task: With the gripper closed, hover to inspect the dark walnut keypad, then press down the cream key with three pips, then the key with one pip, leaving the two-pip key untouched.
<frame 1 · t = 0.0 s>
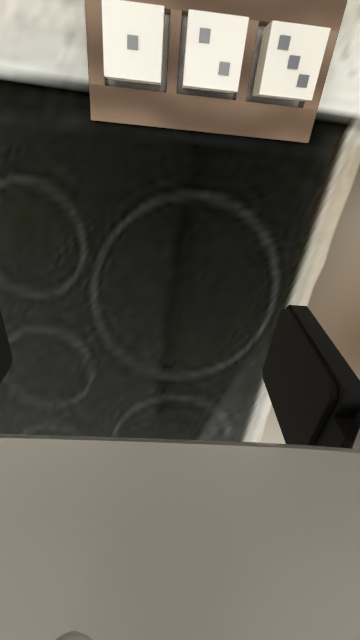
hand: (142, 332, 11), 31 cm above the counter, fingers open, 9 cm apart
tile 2: (212, 55, 28), point 3 cm above the counter, slide at 0.0 cm
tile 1: (134, 45, 28), point 3 cm above the counter, slide at 0.0 cm
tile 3: (288, 64, 29), point 3 cm above the counter, slide at 0.0 cm
keypad board: (208, 60, 31), on the counter
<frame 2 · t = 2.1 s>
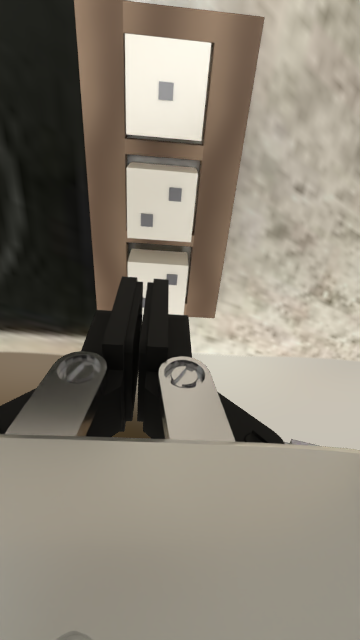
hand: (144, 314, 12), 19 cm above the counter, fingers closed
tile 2: (161, 202, 25), point 3 cm above the counter, slide at 0.0 cm
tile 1: (166, 92, 21), point 3 cm above the counter, slide at 0.0 cm
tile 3: (157, 283, 28), point 3 cm above the counter, slide at 0.0 cm
keypad board: (162, 193, 27), on the counter
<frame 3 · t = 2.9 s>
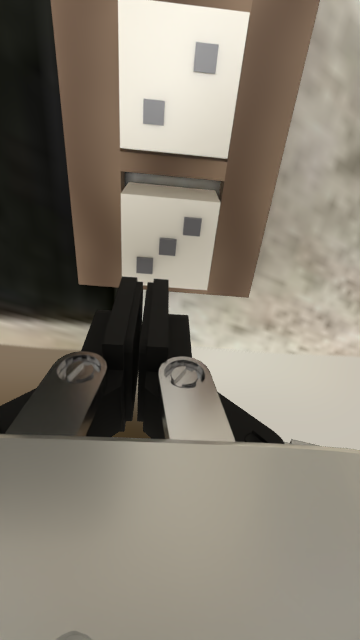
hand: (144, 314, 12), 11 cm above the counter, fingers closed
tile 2: (178, 88, 14), point 3 cm above the counter, slide at 0.0 cm
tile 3: (168, 237, 18), point 3 cm above the counter, slide at 0.0 cm
keypad board: (179, 92, 17), on the counter
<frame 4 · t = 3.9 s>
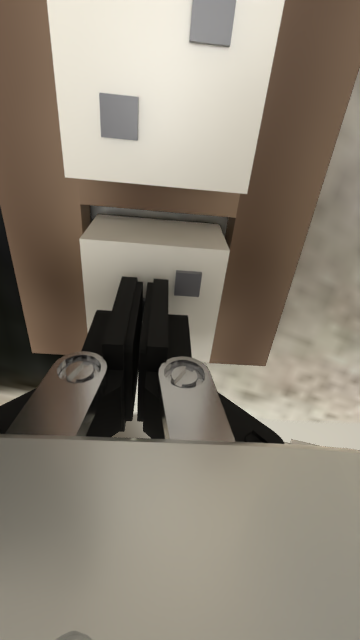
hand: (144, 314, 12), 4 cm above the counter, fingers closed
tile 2: (164, 76, 8), point 3 cm above the counter, slide at 0.0 cm
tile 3: (154, 291, 13), point 2 cm above the counter, slide at 0.9 cm
keypad board: (166, 85, 11), on the counter
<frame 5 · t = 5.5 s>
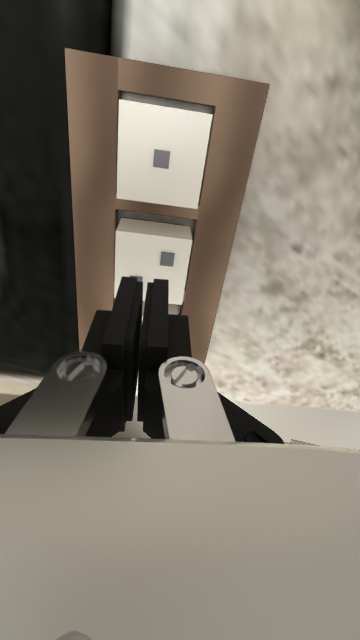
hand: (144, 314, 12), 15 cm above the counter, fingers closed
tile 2: (152, 262, 23), point 3 cm above the counter, slide at 0.0 cm
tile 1: (162, 156, 19), point 3 cm above the counter, slide at 0.0 cm
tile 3: (145, 331, 28), point 2 cm above the counter, slide at 1.1 cm
keypad board: (153, 246, 26), on the counter
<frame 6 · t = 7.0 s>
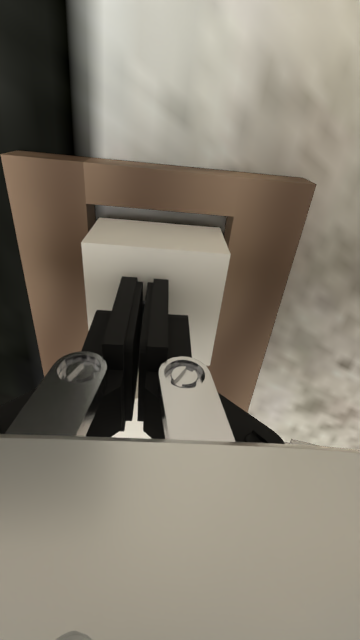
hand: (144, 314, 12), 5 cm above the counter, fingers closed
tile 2: (149, 411, 17), point 3 cm above the counter, slide at 0.0 cm
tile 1: (155, 294, 13), point 3 cm above the counter, slide at 0.2 cm, touching gripper
keypad board: (152, 369, 19), on the counter
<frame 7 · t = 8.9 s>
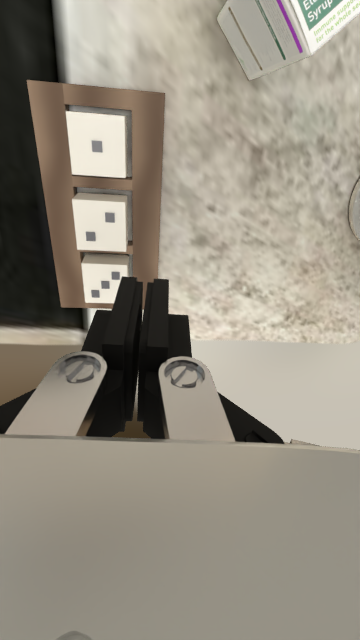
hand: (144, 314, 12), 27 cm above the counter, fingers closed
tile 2: (102, 222, 33), point 3 cm above the counter, slide at 0.0 cm
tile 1: (99, 145, 30), point 2 cm above the counter, slide at 1.1 cm
syrup box: (258, 26, 28), on the counter
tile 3: (107, 279, 37), point 2 cm above the counter, slide at 1.1 cm
keypad board: (106, 214, 35), on the counter
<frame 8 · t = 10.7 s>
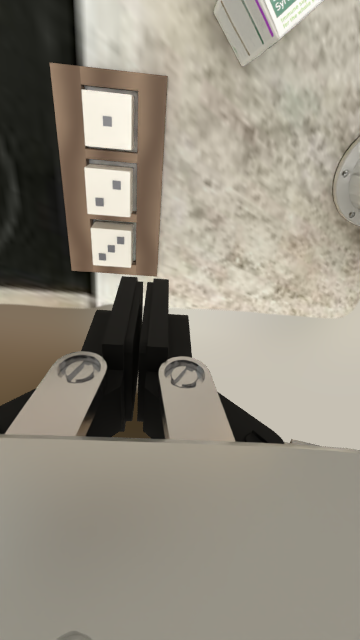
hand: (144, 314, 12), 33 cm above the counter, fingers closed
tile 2: (110, 190, 37), point 3 cm above the counter, slide at 0.0 cm
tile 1: (109, 121, 34), point 2 cm above the counter, slide at 1.1 cm
syrup box: (249, 18, 32), on the counter
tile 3: (113, 244, 42), point 2 cm above the counter, slide at 1.1 cm
keypad board: (114, 185, 40), on the counter
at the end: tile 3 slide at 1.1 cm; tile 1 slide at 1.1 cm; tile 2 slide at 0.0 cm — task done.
